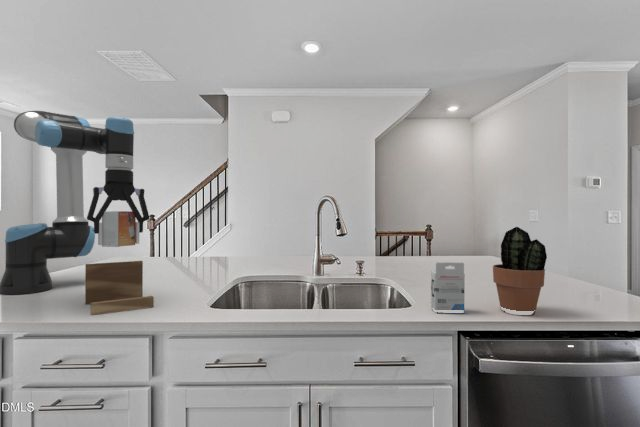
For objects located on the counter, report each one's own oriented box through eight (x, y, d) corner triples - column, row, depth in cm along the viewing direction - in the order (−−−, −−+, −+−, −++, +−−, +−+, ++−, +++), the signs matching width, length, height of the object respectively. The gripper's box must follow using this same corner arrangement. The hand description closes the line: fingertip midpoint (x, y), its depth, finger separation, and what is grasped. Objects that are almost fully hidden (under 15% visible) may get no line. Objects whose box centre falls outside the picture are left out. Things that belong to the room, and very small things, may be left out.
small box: (117, 247, 113) (117, 211, 113) (101, 247, 115) (101, 211, 114) (136, 245, 121) (136, 211, 121) (120, 244, 122) (120, 211, 122)
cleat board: (85, 303, 120) (85, 264, 120) (141, 296, 129) (141, 260, 129) (91, 315, 106) (91, 271, 106) (153, 307, 116) (153, 266, 116)
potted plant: (494, 315, 110) (495, 227, 110) (490, 304, 123) (491, 225, 123) (549, 320, 106) (550, 228, 105) (539, 308, 118) (540, 226, 118)
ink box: (458, 309, 117) (459, 260, 116) (464, 314, 112) (465, 262, 111) (430, 309, 117) (430, 260, 117) (434, 313, 112) (435, 262, 112)
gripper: (77, 166, 108) (77, 246, 108) (160, 171, 121) (160, 243, 121) (75, 168, 114) (75, 244, 115) (155, 173, 127) (154, 241, 127)
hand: (119, 244), depth 118 cm, fingers closed on small box, 9 cm apart
